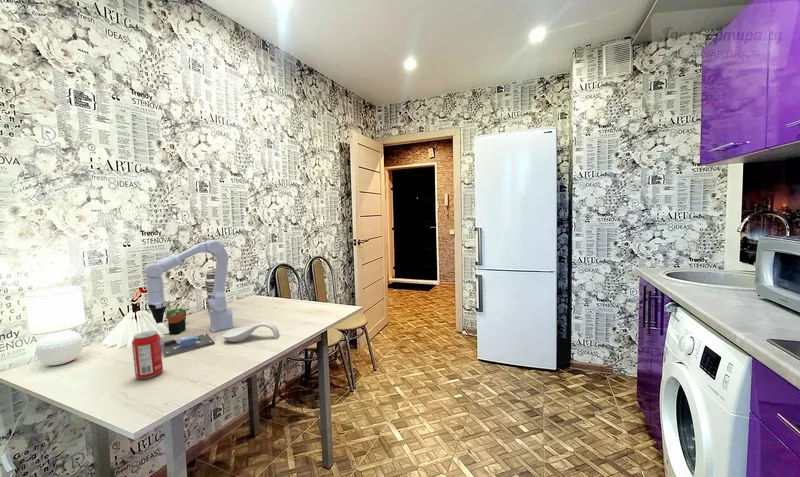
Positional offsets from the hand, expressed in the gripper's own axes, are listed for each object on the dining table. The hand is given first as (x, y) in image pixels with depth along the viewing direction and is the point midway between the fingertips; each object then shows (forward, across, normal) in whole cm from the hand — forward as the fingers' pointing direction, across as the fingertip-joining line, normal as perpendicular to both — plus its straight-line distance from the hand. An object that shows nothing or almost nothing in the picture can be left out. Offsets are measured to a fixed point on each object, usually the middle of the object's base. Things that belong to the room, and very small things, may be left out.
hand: (158, 320), depth 148 cm
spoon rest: (+10, +26, +31) cm, 42 cm away
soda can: (+10, +35, -7) cm, 37 cm away
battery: (+10, -10, +8) cm, 16 cm away
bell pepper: (+10, -23, +10) cm, 27 cm away
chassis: (+10, +14, +8) cm, 19 cm away
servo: (+10, +14, +8) cm, 19 cm away
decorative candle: (+10, -30, +30) cm, 44 cm away
